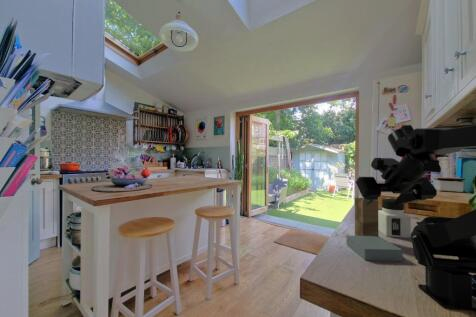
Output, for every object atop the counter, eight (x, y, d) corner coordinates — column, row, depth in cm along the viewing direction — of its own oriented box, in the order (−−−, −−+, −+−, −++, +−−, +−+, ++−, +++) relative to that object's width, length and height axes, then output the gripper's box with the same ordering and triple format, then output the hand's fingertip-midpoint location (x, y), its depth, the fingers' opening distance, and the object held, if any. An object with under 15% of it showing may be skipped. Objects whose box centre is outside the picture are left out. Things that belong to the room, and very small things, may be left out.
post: (378, 243, 68) (378, 200, 68) (362, 242, 68) (362, 200, 68) (369, 237, 73) (369, 197, 73) (354, 237, 73) (354, 197, 73)
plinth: (402, 260, 55) (402, 249, 56) (364, 260, 56) (364, 248, 56) (378, 245, 65) (378, 236, 66) (346, 245, 66) (346, 235, 66)
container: (411, 238, 72) (410, 201, 72) (386, 236, 74) (386, 200, 74) (398, 231, 80) (398, 197, 80) (376, 229, 81) (376, 196, 81)
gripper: (428, 148, 57) (398, 182, 68) (359, 148, 58) (340, 182, 69) (456, 180, 49) (417, 212, 60) (377, 179, 50) (353, 212, 61)
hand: (380, 203), depth 63 cm, fingers open, 9 cm apart
